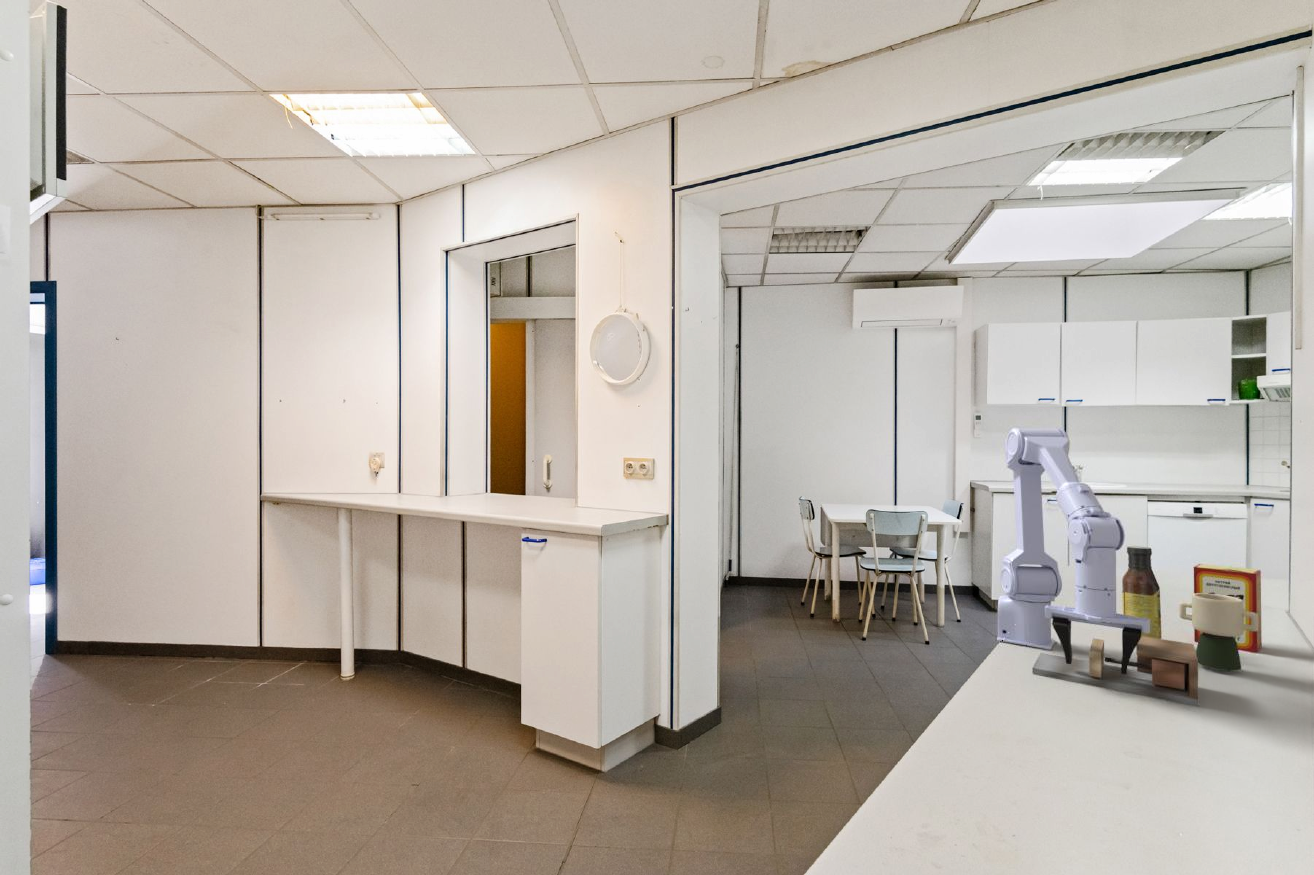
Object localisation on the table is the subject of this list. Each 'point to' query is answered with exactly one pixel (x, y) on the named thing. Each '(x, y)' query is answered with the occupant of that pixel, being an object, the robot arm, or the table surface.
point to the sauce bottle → (1142, 590)
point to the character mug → (1218, 628)
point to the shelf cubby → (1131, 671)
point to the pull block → (1161, 669)
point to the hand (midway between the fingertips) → (1095, 667)
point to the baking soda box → (1234, 585)
